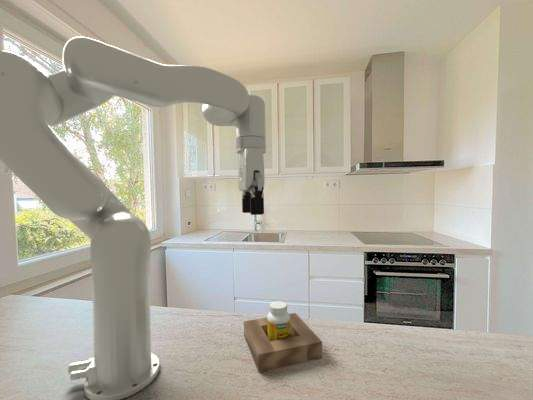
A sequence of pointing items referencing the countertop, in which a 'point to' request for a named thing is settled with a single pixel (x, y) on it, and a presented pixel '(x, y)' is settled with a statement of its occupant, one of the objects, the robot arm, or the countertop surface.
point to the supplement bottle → (278, 322)
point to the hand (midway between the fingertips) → (252, 213)
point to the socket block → (281, 344)
